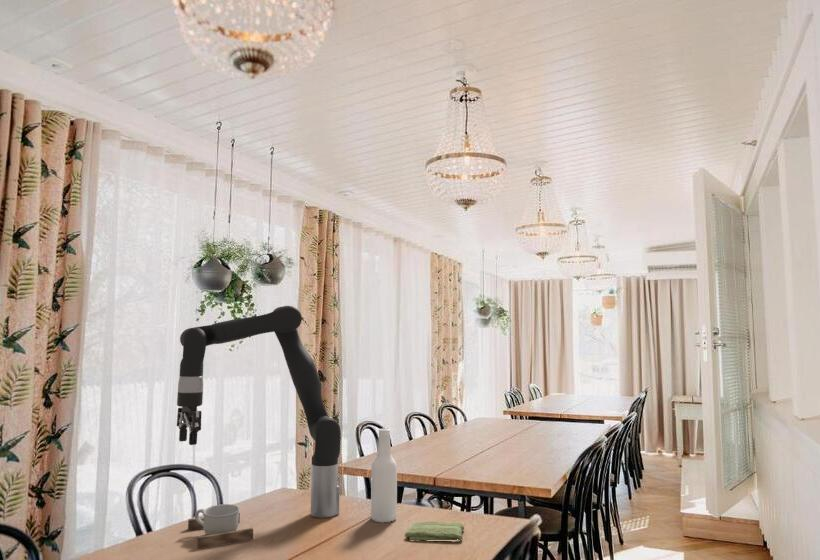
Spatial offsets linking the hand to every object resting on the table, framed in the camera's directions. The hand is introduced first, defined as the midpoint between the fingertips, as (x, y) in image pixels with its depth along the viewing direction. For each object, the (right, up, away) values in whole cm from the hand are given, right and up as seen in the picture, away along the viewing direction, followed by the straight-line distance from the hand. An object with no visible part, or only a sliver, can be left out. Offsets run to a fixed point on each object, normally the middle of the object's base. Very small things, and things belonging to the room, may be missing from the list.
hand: (187, 442), depth 180 cm
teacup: (+9, -29, -1) cm, 30 cm away
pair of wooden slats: (+10, -28, -1) cm, 30 cm away
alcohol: (+61, -30, +15) cm, 70 cm away
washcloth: (+78, -29, -1) cm, 83 cm away
